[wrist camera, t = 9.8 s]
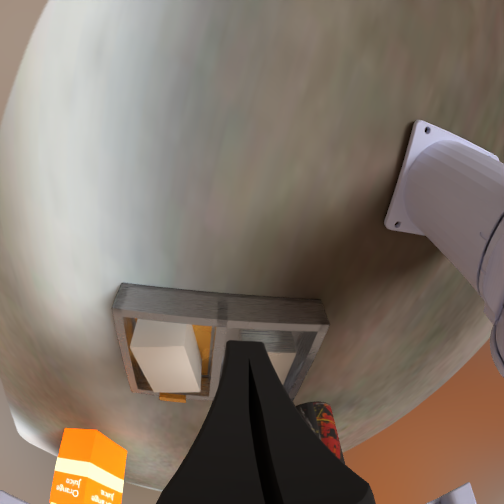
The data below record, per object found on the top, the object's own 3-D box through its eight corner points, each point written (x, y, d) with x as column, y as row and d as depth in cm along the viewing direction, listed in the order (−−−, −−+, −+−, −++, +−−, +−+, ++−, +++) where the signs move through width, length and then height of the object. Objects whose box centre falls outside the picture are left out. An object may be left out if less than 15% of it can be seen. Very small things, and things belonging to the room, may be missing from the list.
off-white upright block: (188, 310, 22) (184, 346, 19) (201, 359, 26) (200, 391, 23) (139, 313, 22) (129, 347, 19) (159, 360, 25) (154, 392, 22)
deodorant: (277, 412, 33) (293, 525, 20) (323, 396, 32) (350, 512, 19) (294, 427, 36) (311, 525, 23) (335, 413, 35) (360, 513, 22)
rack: (320, 299, 23) (331, 330, 20) (288, 379, 29) (293, 407, 26) (121, 282, 21) (109, 313, 18) (136, 368, 27) (130, 396, 24)
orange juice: (96, 429, 35) (80, 542, 19) (128, 451, 40) (119, 551, 23) (63, 427, 36) (44, 528, 19) (95, 449, 41) (83, 540, 24)
